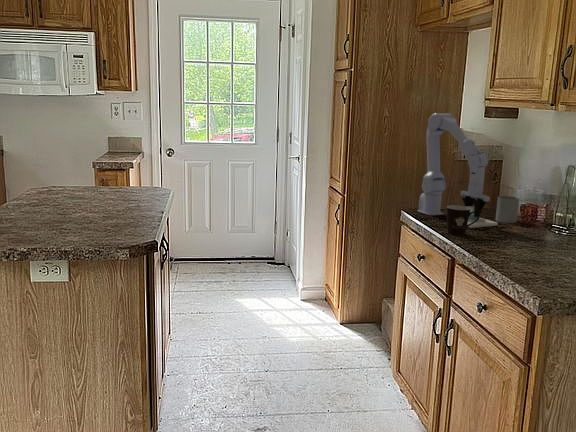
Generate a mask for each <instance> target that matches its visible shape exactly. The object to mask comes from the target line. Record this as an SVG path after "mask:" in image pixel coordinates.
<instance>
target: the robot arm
mask: <svg viewBox="0 0 576 432" xmlns="http://www.w3.org/2000/svg"><path fill="white" fill-rule="evenodd" d="M445 131H447V132H449V133H450V134H451V135H452V137H453V138H454V139H456V141H457V142H458V143H459V149H460V150H461V152H462V153H463V155H465V158H466V159H467V165H468V167H469V179H468V187H467V191H466V190H461V191H460V196H463V197H462V199H461V200H462V201H463V205H464V207H466V206H474V211H475V212H477V213H479V217H480V215H481V214H482V210H483V208H484V207H485V205H486V204H487V203H488V202H490V199H491V198H490V197H491V196H488V195H486V194H484V184H485V183H484V182H485V173H486V167H488V165H489V161H490V160H489V156H488V154H486V153H483V152H482V151H481V149H479V147H478V146H477V145H476V142H475V140H472V139H470V138H469V139H468V138H467V137H466V135H465V133H464V132H463V130H462V129H461V127H460V126H459V124H458V123H457V118H455V117H454V115H453V114H452V113H450V112H448V113H440V112H439V113H438V112H437V113H436V112H434V113H432V114H431V115H430V116H429V118H428V119H427V128H426V135H425V136H426V165H427V166H426V167H427V173H425V175H423V178H422V184H421V189H422V193H421V194H420V196H419V200H418V209H417V210H416V212H418V213H421V214H423V215H428V216H441V215H443V216H444V215H445V213H444V212H441V207H442V206H441V203H442V195H443V192H444V191H445V190H446V188H447V183H446V180H445V175H444V174H443V173H442V171H441V147H440V140H441V139H440V137H441V135H442V134H443V132H445ZM474 217H478V215H477V214H476V213H474Z"/></svg>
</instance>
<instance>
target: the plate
mask: <svg viewBox="0 0 576 432" xmlns="http://www.w3.org/2000/svg"><path fill="white" fill-rule="evenodd" d="M474 221H475V220H470V219H468V223H467V225H469V224H470V223H472V222H474ZM494 226H496V227H497V226H498V221H493V220H491V219H485V218H482V217H479V220H477V221H476V222H475V223H474V224H472V225H470V226H468V227H467V228H470V229H472V228H483V227H484V228H485V227H494Z"/></svg>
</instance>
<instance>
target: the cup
mask: <svg viewBox="0 0 576 432" xmlns="http://www.w3.org/2000/svg"><path fill="white" fill-rule="evenodd" d="M519 203H520V198H519V197H516V196H508V195H506V196H505V195H500V196H497V203H496V204H497V205H496V210H495V211H496V212H495V222H500V223H504V224H505V223H506V224H507V223H508V224H514V223H515V224H516V223H517V221H518V213H519Z"/></svg>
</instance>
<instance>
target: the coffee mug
mask: <svg viewBox="0 0 576 432" xmlns="http://www.w3.org/2000/svg"><path fill="white" fill-rule="evenodd" d="M472 213H476V214H477V215H478V218H477V219H476V220H475V221H474V222H472V223H470V224H469V225H467V223H468V218H469V216H470V215H471V214H472ZM479 218H480V216H479V213H477V212H475V211H473V212H470V208H469V207H465V205H464V206H463V205H447V206H446V224H447V234H448V235H451V236H456V237H457V236H460V237H461V236H465V235H466V232H467V228H469V227H468V226H470V225H472V224H474V223H475V222H476V221H477V220H478V219H479Z"/></svg>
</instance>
